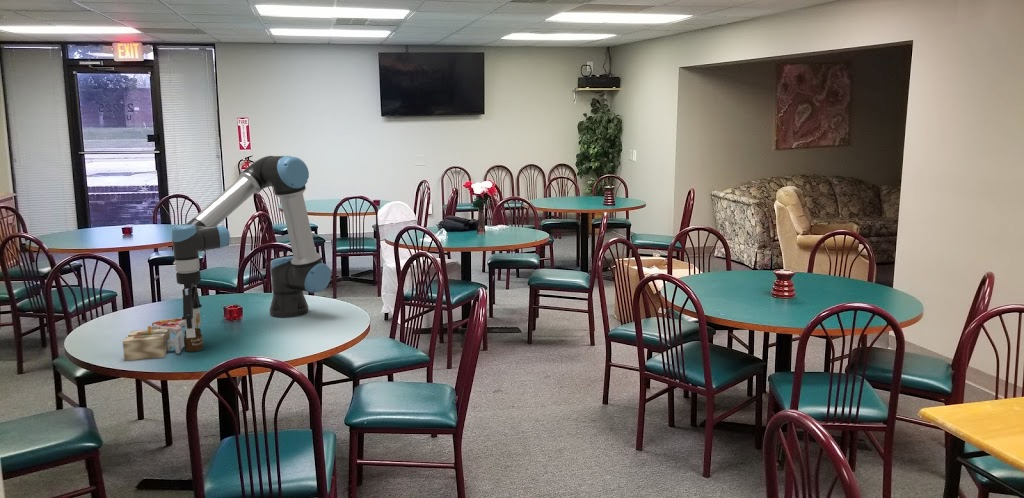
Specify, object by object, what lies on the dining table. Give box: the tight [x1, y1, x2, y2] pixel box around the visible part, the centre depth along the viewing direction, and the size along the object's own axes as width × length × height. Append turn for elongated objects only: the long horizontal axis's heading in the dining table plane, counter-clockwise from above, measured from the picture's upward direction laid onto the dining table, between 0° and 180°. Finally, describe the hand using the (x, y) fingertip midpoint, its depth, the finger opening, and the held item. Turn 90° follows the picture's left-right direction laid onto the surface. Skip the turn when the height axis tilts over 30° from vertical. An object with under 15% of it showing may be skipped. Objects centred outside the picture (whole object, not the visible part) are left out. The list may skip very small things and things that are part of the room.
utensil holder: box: [183, 313, 204, 353], centre depth 263 cm, size 6×6×12 cm
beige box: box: [122, 328, 171, 361], centre depth 260 cm, size 12×13×7 cm
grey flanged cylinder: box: [147, 325, 185, 354], centre depth 261 cm, size 14×9×9 cm, turn 104°
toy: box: [150, 316, 185, 335], centre depth 291 cm, size 15×4×20 cm
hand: (194, 332), depth 263 cm, fingers open, 13 cm apart
